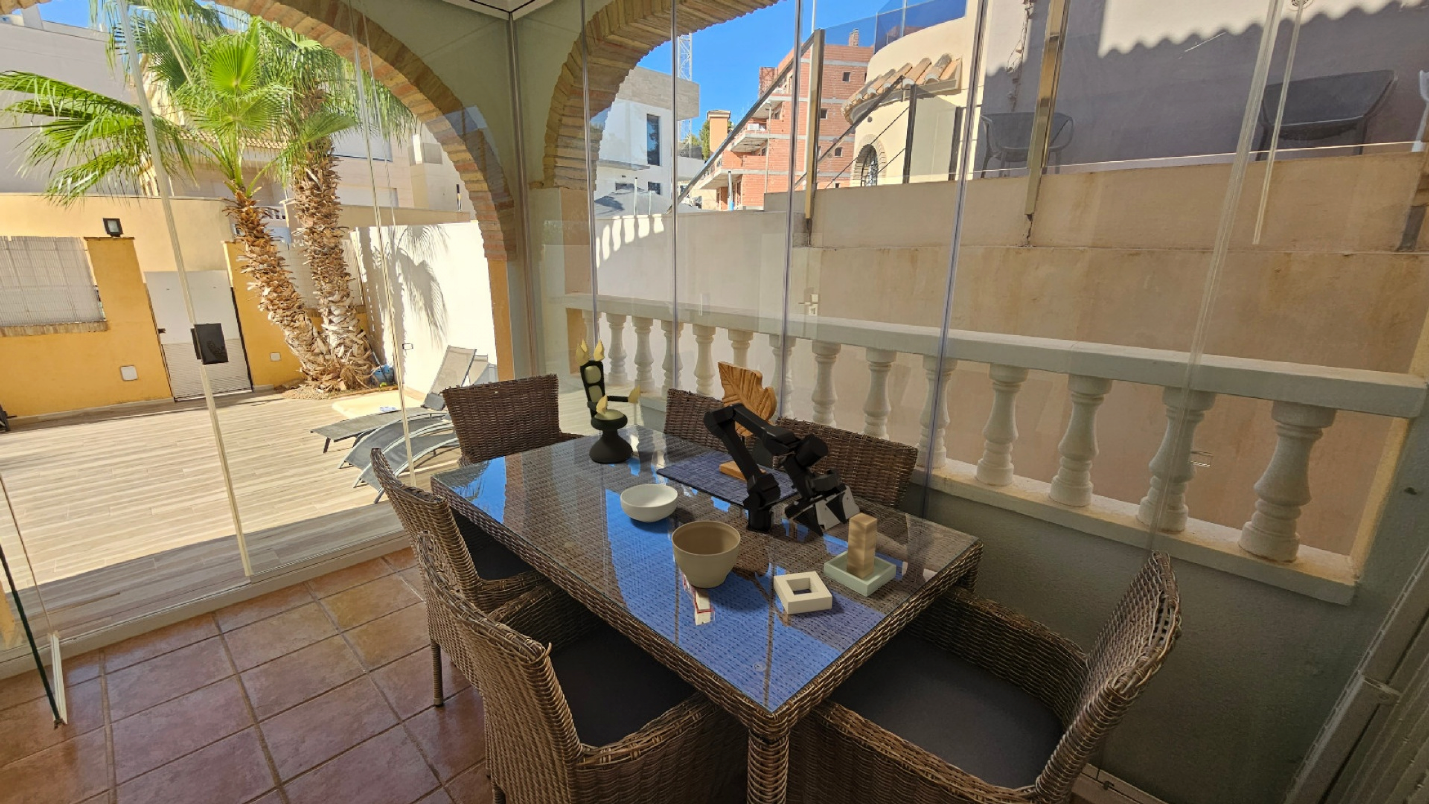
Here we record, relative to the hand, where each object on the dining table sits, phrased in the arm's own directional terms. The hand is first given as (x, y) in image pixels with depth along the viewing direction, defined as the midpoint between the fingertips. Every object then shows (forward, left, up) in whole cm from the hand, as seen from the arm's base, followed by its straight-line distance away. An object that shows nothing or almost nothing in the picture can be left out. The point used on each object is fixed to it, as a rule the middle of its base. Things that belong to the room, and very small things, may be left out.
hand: (834, 530), depth 133 cm
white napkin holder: (-6, +25, -9) cm, 27 cm away
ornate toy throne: (-97, +40, -9) cm, 105 cm away
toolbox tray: (+7, -3, -9) cm, 12 cm away
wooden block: (+7, -3, -8) cm, 11 cm away
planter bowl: (-26, -19, -9) cm, 33 cm away
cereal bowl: (-55, +3, -9) cm, 56 cm away
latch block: (-3, -17, -9) cm, 20 cm away
